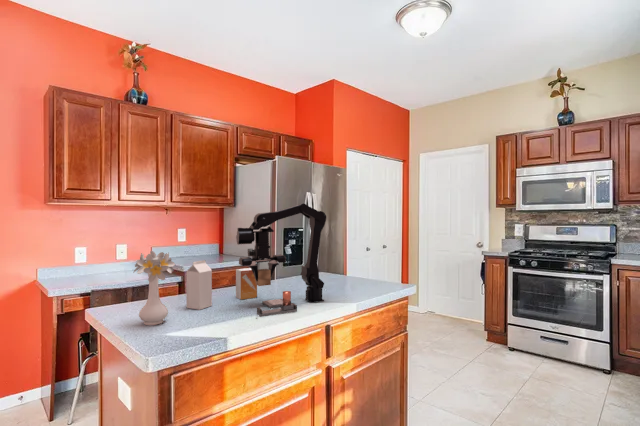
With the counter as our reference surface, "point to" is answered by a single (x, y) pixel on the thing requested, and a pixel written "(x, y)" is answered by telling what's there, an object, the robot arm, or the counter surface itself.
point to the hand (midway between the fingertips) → (263, 280)
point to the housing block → (263, 277)
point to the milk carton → (199, 286)
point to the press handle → (286, 301)
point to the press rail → (275, 311)
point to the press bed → (273, 303)
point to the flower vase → (154, 286)
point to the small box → (245, 284)
